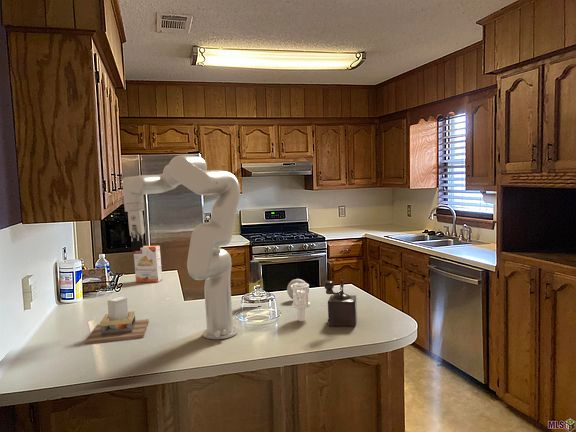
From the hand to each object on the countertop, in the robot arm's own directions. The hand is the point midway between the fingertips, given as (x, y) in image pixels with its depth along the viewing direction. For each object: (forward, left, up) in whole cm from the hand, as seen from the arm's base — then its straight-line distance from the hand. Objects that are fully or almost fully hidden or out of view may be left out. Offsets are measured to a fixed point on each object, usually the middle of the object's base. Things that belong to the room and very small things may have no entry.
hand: (137, 249), depth 190 cm
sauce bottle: (+9, -48, -31) cm, 58 cm away
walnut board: (-10, +8, -30) cm, 33 cm away
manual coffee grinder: (-31, -75, -31) cm, 87 cm away
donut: (+9, -67, -31) cm, 74 cm away
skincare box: (-10, +8, -29) cm, 32 cm away
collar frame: (-10, +8, -29) cm, 32 cm away
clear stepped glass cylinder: (-20, -62, -31) cm, 72 cm away
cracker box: (+84, +6, -31) cm, 90 cm away
